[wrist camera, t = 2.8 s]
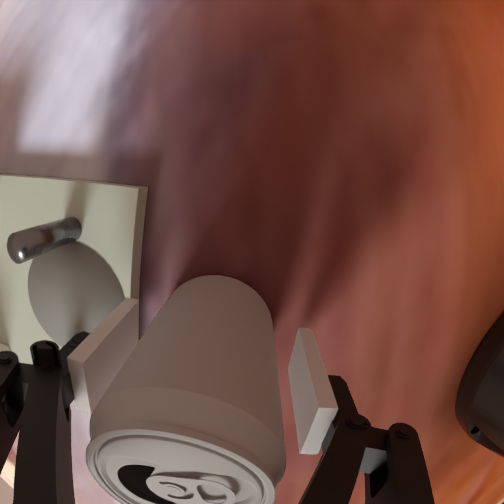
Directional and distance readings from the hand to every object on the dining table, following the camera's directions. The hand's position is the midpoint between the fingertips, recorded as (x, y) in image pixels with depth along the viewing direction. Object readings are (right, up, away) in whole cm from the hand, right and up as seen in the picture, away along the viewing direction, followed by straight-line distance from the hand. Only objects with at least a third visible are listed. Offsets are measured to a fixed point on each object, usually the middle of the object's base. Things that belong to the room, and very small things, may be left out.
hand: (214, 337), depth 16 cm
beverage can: (0, 0, +2) cm, 2 cm away
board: (-16, +3, +2) cm, 16 cm away
